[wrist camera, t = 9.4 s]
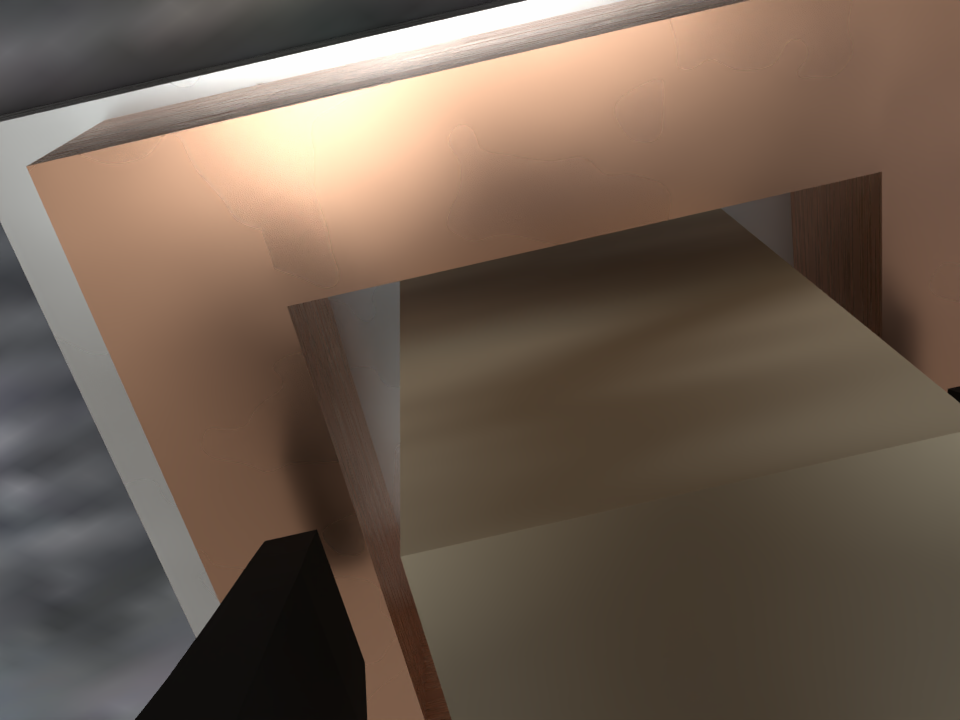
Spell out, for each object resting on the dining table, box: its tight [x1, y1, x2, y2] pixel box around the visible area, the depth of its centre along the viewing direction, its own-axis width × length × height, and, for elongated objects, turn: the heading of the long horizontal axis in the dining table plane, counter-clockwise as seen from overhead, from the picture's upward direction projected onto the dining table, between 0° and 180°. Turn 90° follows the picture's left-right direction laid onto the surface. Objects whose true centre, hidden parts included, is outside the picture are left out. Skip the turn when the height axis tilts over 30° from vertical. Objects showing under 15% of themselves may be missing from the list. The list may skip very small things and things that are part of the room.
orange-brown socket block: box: [0, 0, 960, 720], centre depth 12 cm, size 14×11×4 cm
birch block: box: [400, 208, 960, 720], centre depth 10 cm, size 4×4×6 cm
